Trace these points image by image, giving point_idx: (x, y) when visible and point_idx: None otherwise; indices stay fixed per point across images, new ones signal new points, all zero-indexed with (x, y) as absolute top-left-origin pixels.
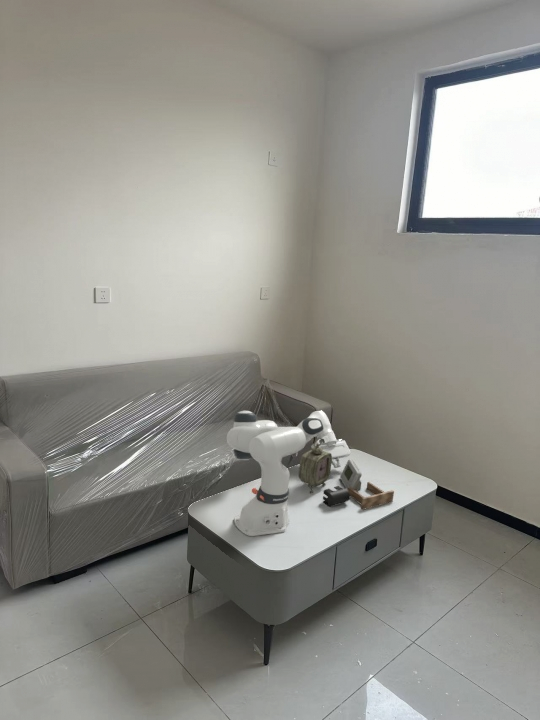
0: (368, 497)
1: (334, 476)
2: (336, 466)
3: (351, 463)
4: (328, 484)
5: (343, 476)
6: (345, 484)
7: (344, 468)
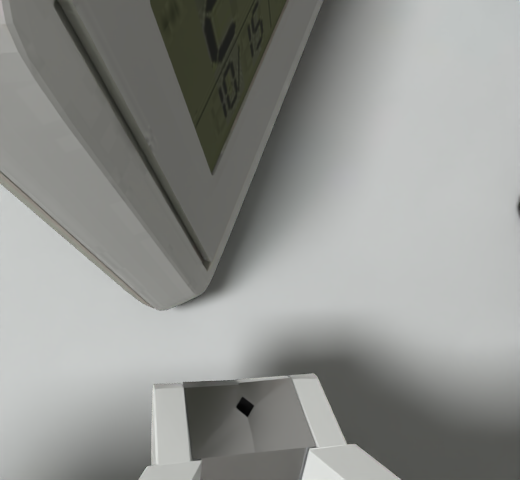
0: None
1: None
2: (301, 378)
3: None
4: (451, 220)
5: (240, 153)
6: (303, 33)
7: (160, 205)
